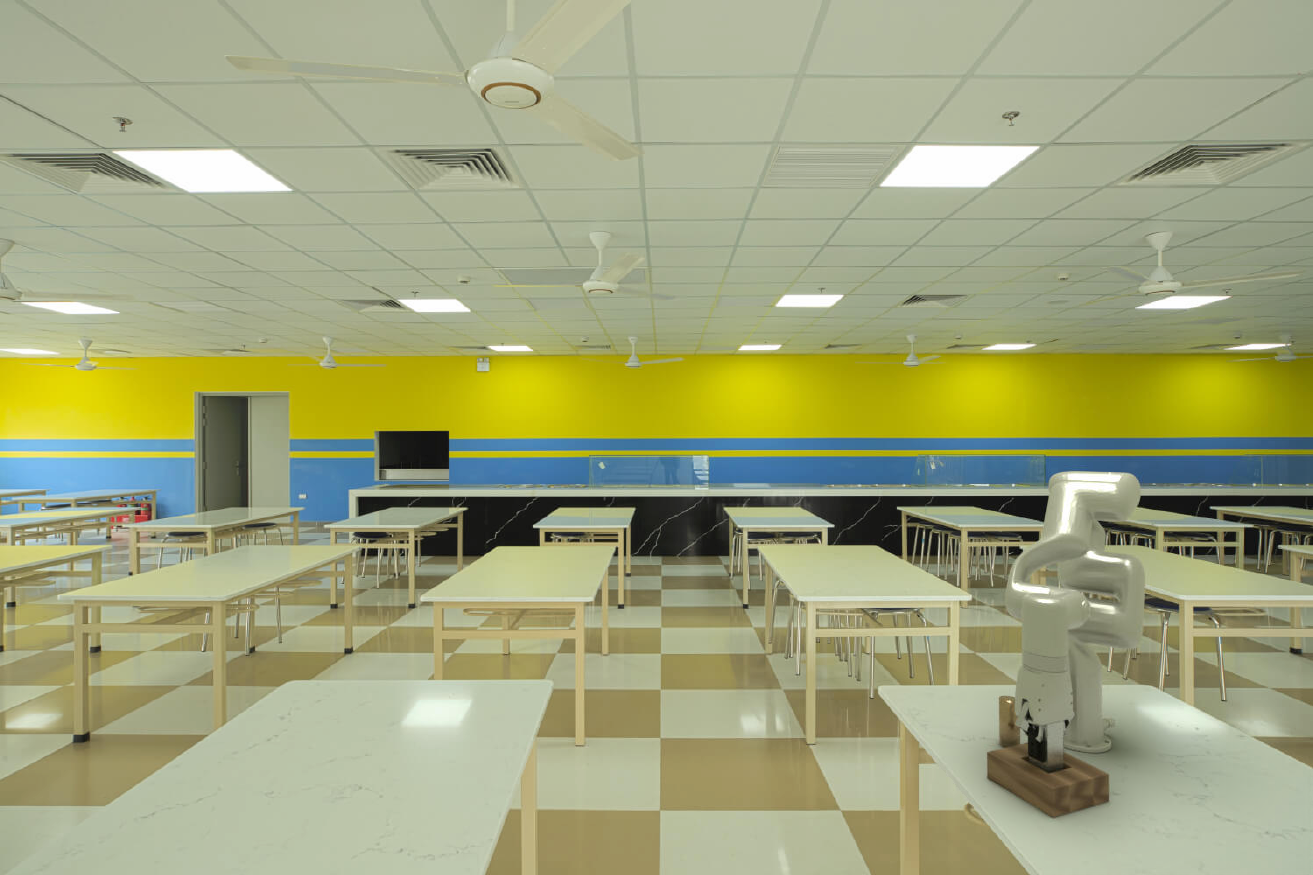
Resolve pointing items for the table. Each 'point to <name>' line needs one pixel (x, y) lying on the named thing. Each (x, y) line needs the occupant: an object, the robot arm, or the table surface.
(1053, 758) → the square peg
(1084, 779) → the socket block
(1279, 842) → the table surface
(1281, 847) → the table surface
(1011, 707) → the round peg
